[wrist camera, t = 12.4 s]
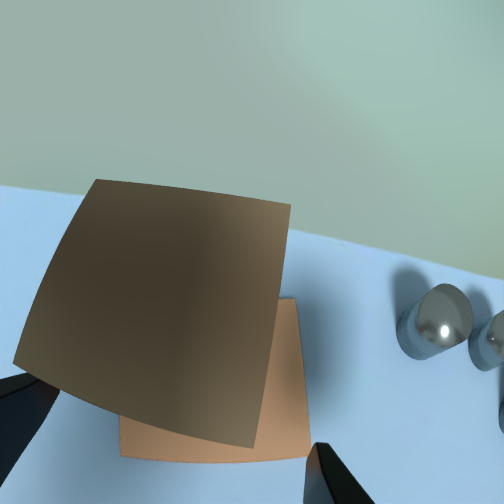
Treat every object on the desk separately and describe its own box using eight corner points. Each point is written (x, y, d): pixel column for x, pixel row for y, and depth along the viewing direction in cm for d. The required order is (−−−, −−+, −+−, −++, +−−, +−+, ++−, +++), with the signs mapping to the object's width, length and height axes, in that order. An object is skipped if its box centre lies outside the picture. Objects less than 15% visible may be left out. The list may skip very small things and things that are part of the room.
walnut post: (241, 423, 15) (253, 448, 3) (165, 406, 15) (12, 363, 4) (254, 352, 17) (290, 204, 6) (181, 337, 17) (95, 179, 6)
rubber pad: (123, 455, 13) (120, 455, 13) (128, 305, 18) (125, 302, 18) (309, 454, 14) (311, 455, 14) (294, 301, 19) (295, 298, 19)
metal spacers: (515, 443, 12) (548, 437, 9) (387, 339, 18) (417, 319, 15) (538, 367, 16) (567, 354, 12) (427, 262, 21) (453, 235, 18)
